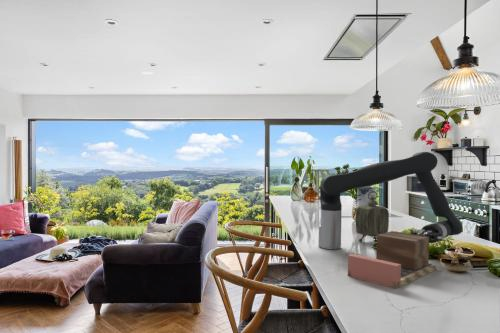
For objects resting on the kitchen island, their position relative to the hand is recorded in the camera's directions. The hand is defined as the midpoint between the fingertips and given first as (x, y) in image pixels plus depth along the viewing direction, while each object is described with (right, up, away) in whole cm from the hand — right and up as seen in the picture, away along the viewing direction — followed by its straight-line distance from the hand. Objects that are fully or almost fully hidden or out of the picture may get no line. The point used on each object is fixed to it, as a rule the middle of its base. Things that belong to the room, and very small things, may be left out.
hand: (416, 238), depth 145 cm
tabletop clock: (-4, -9, +39) cm, 40 cm away
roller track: (-13, -10, -12) cm, 21 cm away
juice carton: (0, -9, +65) cm, 66 cm away
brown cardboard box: (-9, -8, -7) cm, 14 cm away
